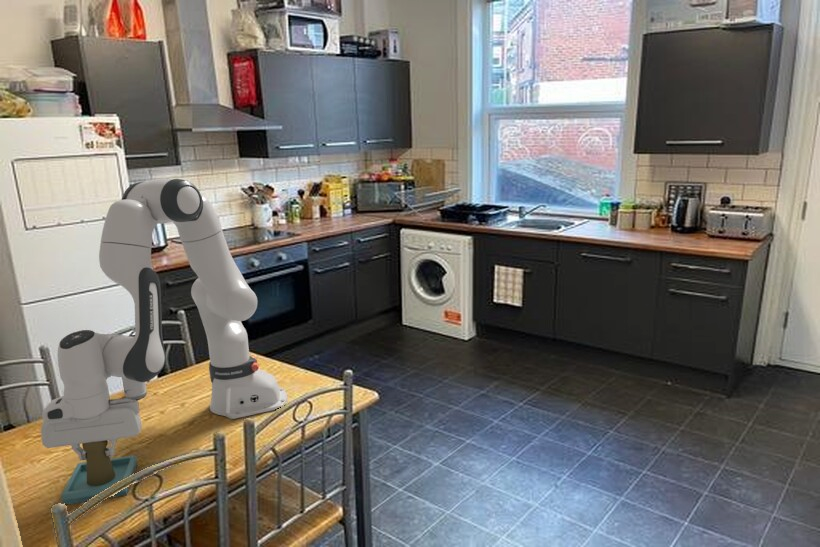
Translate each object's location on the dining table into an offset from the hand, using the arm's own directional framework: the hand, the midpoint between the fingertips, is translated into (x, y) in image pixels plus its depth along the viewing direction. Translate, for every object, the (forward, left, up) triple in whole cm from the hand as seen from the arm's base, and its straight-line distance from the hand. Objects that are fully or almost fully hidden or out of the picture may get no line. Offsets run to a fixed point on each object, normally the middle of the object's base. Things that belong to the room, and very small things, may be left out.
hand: (97, 457), depth 137 cm
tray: (0, 0, -7) cm, 7 cm away
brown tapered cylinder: (0, 0, -6) cm, 6 cm away
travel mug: (+1, -48, -7) cm, 49 cm away
